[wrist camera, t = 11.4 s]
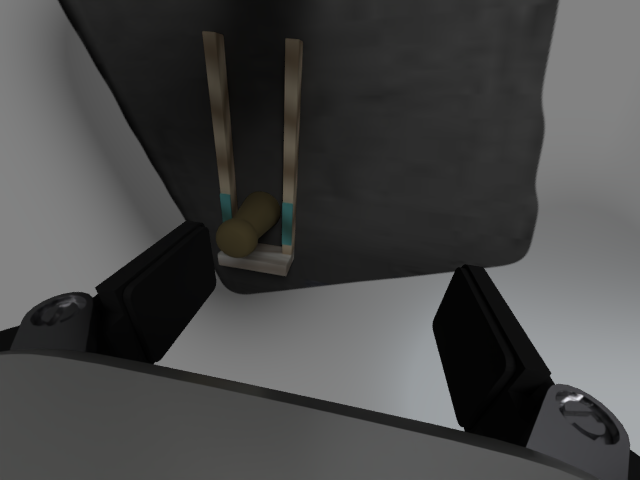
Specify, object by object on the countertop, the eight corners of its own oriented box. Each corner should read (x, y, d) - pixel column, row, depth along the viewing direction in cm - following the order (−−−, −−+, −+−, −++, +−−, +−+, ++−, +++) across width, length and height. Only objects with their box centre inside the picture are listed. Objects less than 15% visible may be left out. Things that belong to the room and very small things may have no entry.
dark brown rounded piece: (245, 224, 43) (211, 262, 34) (242, 189, 40) (203, 219, 31) (281, 229, 43) (256, 268, 33) (280, 193, 40) (253, 226, 30)
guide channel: (211, 34, 31) (186, 25, 26) (303, 42, 30) (292, 34, 25) (232, 248, 46) (219, 264, 42) (293, 258, 45) (286, 276, 41)
